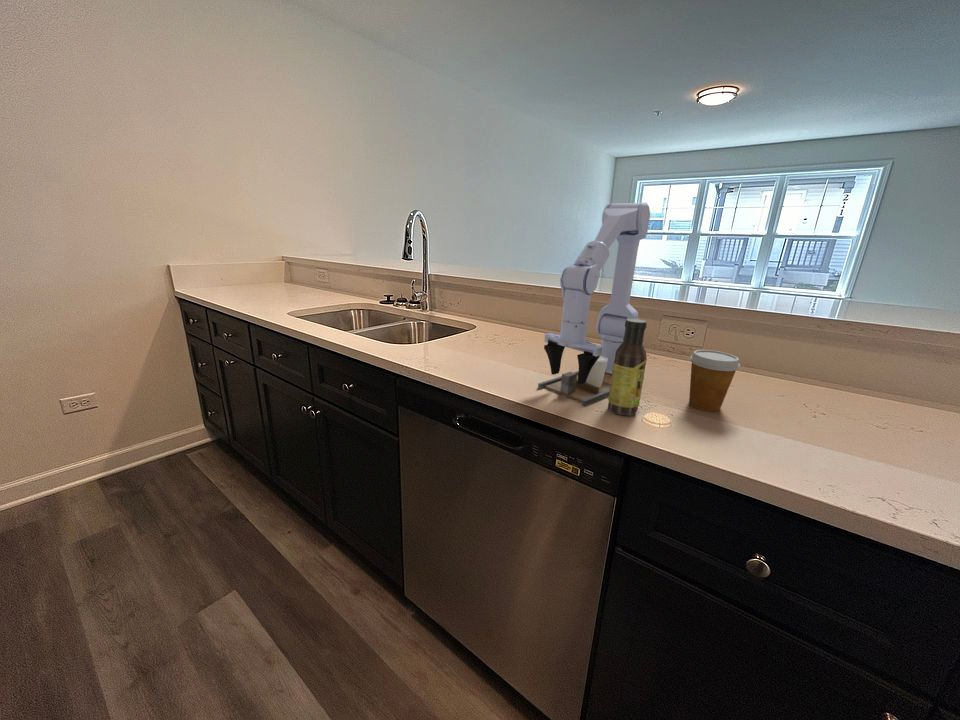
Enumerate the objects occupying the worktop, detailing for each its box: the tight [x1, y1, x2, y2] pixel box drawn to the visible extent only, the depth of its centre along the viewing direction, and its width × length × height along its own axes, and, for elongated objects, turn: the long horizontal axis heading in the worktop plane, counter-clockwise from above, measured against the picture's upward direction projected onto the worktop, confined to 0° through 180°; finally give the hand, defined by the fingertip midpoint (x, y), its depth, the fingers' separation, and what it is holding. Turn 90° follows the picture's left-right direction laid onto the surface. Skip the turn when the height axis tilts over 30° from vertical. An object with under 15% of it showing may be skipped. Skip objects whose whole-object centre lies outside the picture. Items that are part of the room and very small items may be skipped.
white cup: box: [586, 355, 608, 387], centre depth 98 cm, size 7×7×7 cm
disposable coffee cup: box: [688, 349, 741, 412], centre depth 88 cm, size 10×10×12 cm
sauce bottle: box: [607, 318, 648, 416], centre depth 83 cm, size 6×6×20 cm
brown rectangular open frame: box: [545, 371, 611, 403], centre depth 97 cm, size 15×11×5 cm
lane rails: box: [537, 370, 610, 407], centre depth 97 cm, size 18×13×1 cm
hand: (568, 378), depth 92 cm, fingers open, 7 cm apart
